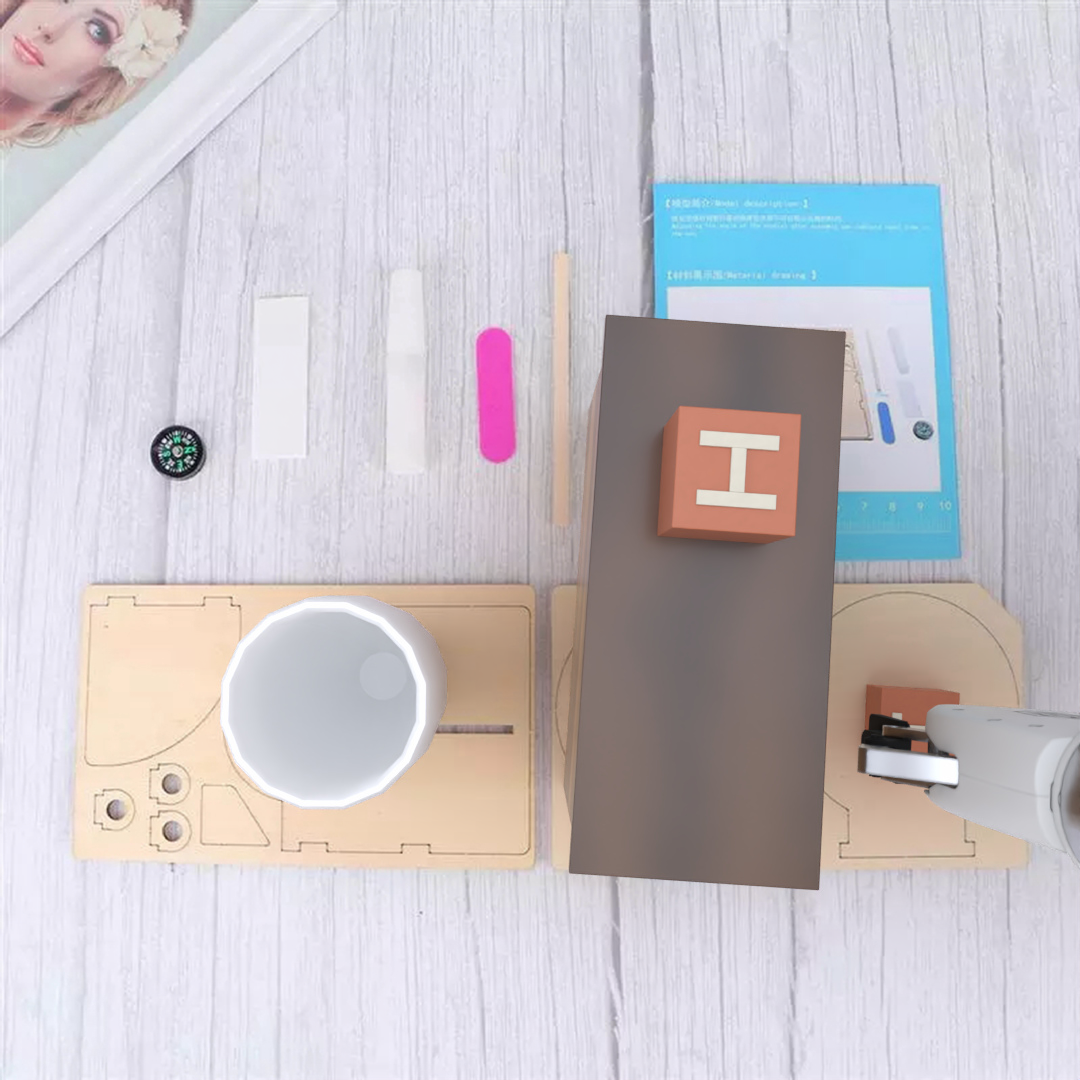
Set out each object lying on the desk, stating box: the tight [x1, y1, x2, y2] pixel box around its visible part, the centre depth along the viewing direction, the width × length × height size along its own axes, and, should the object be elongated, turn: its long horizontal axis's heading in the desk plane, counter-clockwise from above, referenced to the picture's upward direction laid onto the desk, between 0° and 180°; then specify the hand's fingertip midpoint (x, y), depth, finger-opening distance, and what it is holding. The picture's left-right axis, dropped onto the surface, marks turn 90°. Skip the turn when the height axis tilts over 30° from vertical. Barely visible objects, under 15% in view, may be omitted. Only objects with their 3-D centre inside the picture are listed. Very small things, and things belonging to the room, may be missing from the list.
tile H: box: [657, 406, 801, 544], centre depth 41 cm, size 5×5×5 cm
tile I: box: [864, 684, 961, 756], centre depth 63 cm, size 5×5×5 cm
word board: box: [568, 314, 847, 891], centre depth 43 cm, size 11×25×1 cm, turn 176°
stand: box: [562, 366, 602, 825], centre depth 55 cm, size 10×25×22 cm, turn 176°
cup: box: [219, 594, 448, 810], centre depth 54 cm, size 10×10×22 cm
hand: (959, 748), depth 54 cm, fingers open, 9 cm apart
